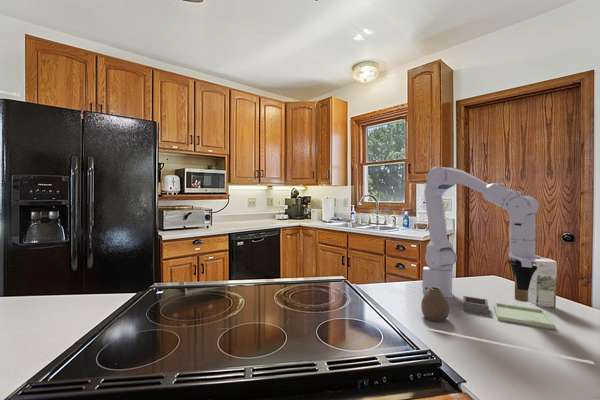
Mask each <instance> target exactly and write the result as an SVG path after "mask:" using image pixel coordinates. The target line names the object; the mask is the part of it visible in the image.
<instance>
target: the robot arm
mask: <svg viewBox="0 0 600 400" xmlns="http://www.w3.org/2000/svg"><path fill="white" fill-rule="evenodd" d="M425 176H426V183H425V186H424V191H423V192H424V194H423V195H424V199H425V200H424V201H425V207H426V209H425V210H426V215H427V224H428V231H429V239H430V241H429V242H428V243H427V245H426V247H425V248H426V249H425V251H426V252H425V255H424V260H425V263H426V265H427V266H423V268H422V285H421V287H422V294H424V295H425V294H426V293H427V292H428V291H429V290H430V288H431V287H437V288H439V289H440V290H441V293H442V294H443V295H444V297H445V298H446V297H447V298H454V293H455V292H454V290H453V268H454V265H455V264H456V263H457V259H458V256H457V254H456V252H455V250H454V247H453V244H452V243H451V241H449V239H448V233H447V226H446V218H445V211H444V204H443V197H442V196H443V195H444V194H445V192H447V190H449V189H450V188H452V187H454V186H455V185H457V184H459V185H460V184H461V185H462V186H465V187H467V188H469V189H471V190H475V191H476V192H479V193H481V194H482V196H483V199H484V200H486V201H487V202H490V203H492V204H494V205H496V206H497V207H500V208H501V209H503V210H506V212H507V214H508V215H509V251H508V252H509V253H508V257H509V258H511V259H507V262H508V263H509V264H510V267H511V270H512V274H513V280H514V281H515V276H516V283H517V287H518V289H519V290H528V288H529V285H530V281H531V278H532V276H533V274H534V272H535V271H536V270H537V266H532V265H533V262H532V261H534V260H535V259H541V258H542V257H541V256H540V255H536V226H537V225H536V214H538V212H539V210H540V203H539V201H538V200H537V199H536V198H535V197H533V196H532V195H522V193H523V192H522V191H519V190H517V191H515V190H513V189H511V188H508V187H506V184H505V183H504V182H499V183H498V182H493V183H487V182H485V181H484V180H481V179H480V178H478V177H476V176H474V175H473V174H470V173H468V172H466V171H464V170H462V169H458V168H455V167H443V166H440V165H439V166H438V165H437V166H434V167H431V168H430V170H429V171H428V172H427V173H426V175H425Z"/></svg>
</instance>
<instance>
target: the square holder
mask: <svg viewBox="0 0 600 400" xmlns="http://www.w3.org/2000/svg"><path fill="white" fill-rule="evenodd" d="M462 297H463V299H462V300H463V301H462V303H463V305H462V307H463V309H462V311H463V312H468V313H469V312H470V313H473V314H481V315H485V316H486V315H487V316H489V311H490V310H489V309H490V308H489V302H488V299H487V298H480V297H474V296H468V295H467V296H466V295H463V296H462Z"/></svg>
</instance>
